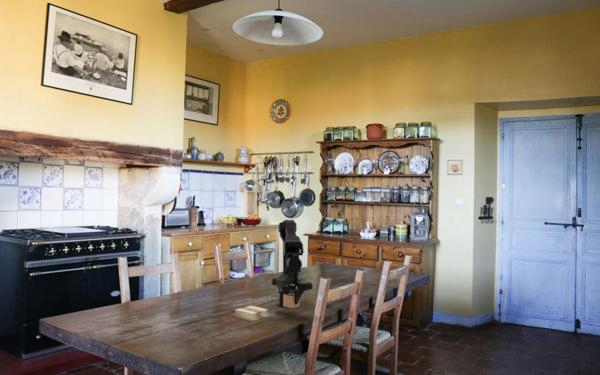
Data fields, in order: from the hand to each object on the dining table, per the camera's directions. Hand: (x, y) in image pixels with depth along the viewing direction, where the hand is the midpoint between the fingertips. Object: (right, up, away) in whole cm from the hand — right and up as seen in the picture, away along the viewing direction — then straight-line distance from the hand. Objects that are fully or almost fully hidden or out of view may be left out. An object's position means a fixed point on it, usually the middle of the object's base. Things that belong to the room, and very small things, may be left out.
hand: (291, 303), depth 209 cm
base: (-17, -5, -3) cm, 18 cm away
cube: (0, -1, 0) cm, 1 cm away
